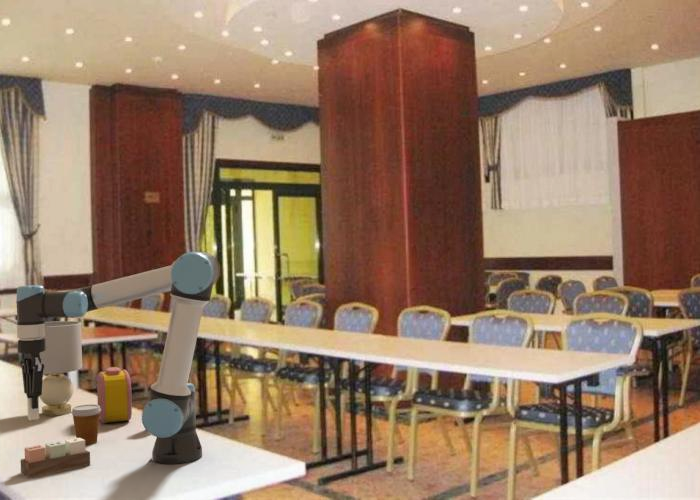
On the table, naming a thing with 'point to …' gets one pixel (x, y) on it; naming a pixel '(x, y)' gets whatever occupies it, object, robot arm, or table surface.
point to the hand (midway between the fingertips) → (33, 419)
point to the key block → (55, 464)
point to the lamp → (60, 365)
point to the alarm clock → (114, 395)
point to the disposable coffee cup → (86, 422)
